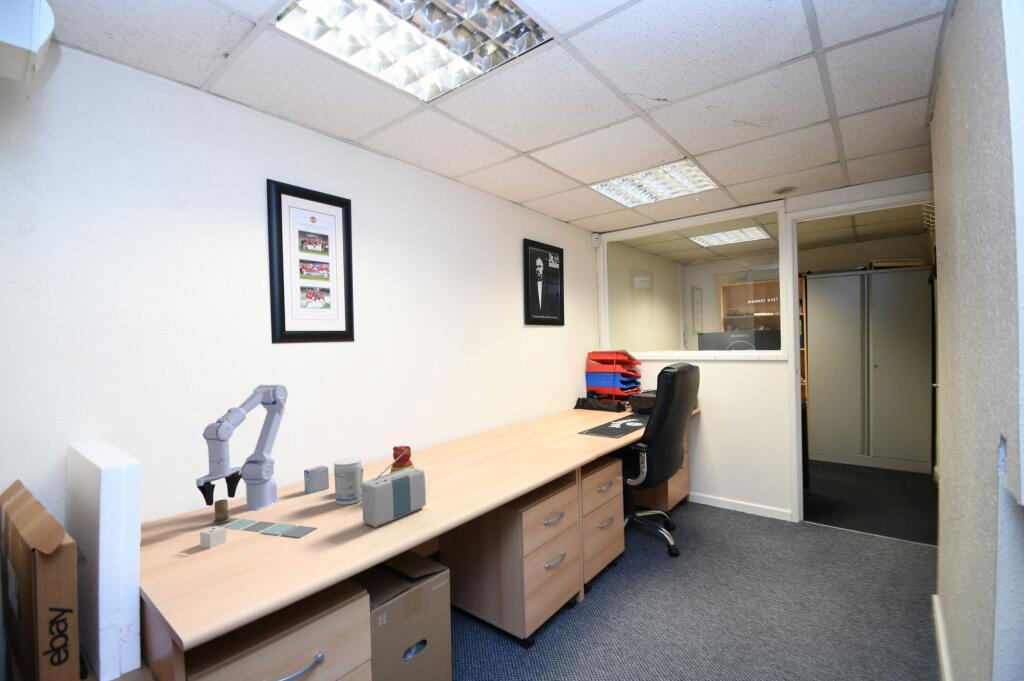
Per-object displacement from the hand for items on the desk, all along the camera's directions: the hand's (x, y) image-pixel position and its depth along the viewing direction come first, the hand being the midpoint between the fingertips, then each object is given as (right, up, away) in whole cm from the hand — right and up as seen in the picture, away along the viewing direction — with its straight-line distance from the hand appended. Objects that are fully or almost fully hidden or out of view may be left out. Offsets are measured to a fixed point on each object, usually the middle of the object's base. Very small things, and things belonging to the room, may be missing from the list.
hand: (220, 501), depth 151 cm
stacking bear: (+55, -5, +22) cm, 59 cm away
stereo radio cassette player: (+57, -5, -1) cm, 57 cm away
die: (+9, -7, -17) cm, 20 cm away
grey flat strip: (+15, -7, -5) cm, 18 cm away
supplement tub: (+37, -6, +16) cm, 40 cm away
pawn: (0, -7, 0) cm, 7 cm away
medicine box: (+18, -7, +31) cm, 37 cm away
